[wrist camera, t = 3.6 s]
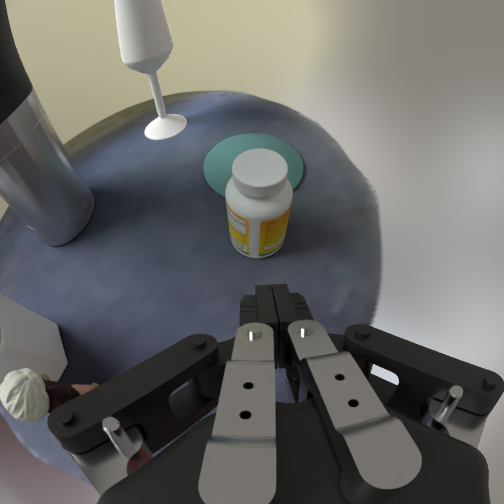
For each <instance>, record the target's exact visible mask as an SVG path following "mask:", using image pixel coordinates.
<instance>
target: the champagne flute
mask: <svg viewBox="0 0 504 504" xmlns="http://www.w3.org/2000/svg"><path fill="white" fill-rule="evenodd" d="M114 4H115V14H116V23H117V31H118V39H119V46H120V53H121V59H122V61H123V63H124V64H125V65H126V66H128V67H129V68H131V69H133V70H136V71H138V72H141V73H145V74H148V77H149V81H150V85H151V89H152V93H153V97H154V100H155V104H156V108H157V112H158V115H159V117H158V118H156V119H155V120H154V121H152V122H151V123H150V124H149V125H148V126H147V127H146V129H145V135H146V136H147V137H148V138H150V139H153V140H161V139H166V138H170V137H172V136H174V135H176V134H178V133H179V132H181V131H182V130H183V129H184V128H185V127H186V125H187V119H186V118H185V117H184V116H182V115H177V114H166V110H165V106H164V102H163V98H162V94H161V91H160V86H159V82H158V77H157V73H156V71H157V70H158V69H159V68H160V67H161V66H162V64H163V63H164V62H165V61H166V60H167V58H168V57H169V54H170V53H171V50H172V48H173V43H172V40H171V36H170V33H169V29H168V26H167V22H166V18H165V15H164V11H163V8H162V4H161V1H160V0H114Z"/></svg>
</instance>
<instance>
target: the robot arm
mask: <svg viewBox="0 0 504 504" xmlns="http://www.w3.org/2000/svg"><path fill="white" fill-rule="evenodd" d="M0 196H1V197H2V198H3V199H4V201H5V202H6V203H7V204H8V205H9V206H10V207H11V208H12V210H13V211H14V212H15V213H16V214H17V215H18V216H19V217H20V218H21V219H22V220H23V221H24V222H25V223H26V224H27V225H28V226H29V227H30V228H31V229H32V230H33V231H34V232H35V233H36V234H37V235H38V236H39V237H40V238H41V239H42V240H43V241H44V242H45V243H46V244H48V245H50V246H60V245H63V244H65V243H67V242H69V241H71V240H72V239H73V238H75V237H76V236H77V235H78V234H79V233H80V232H81V231H82V230H83V229H84V227H85V226H86V225H87V223H88V221H89V220H90V218H91V215H92V213H93V210H94V206H95V199H94V195H93V194H92V192H91V190H90V189H89V187H88V186H87V184H86V182H85V181H84V179H83V178H82V176H81V174H80V173H79V171H78V169H77V168H76V166H75V164H74V163H73V161H72V159H71V158H70V156H69V154H68V153H67V151H66V149H65V147H64V146H63V144H62V142H61V140H60V139H59V137H58V135H57V133H56V131H55V130H54V128H53V126H52V124H51V122H50V120H49V118H48V116H47V114H46V112H45V110H44V109H43V107H42V105H41V103H40V101H39V99H38V96H37V94H36V92H35V90H34V88H33V87H32V84H31V82H30V79H29V77H28V75H27V73H26V71H25V69H24V66H23V64H22V62H21V59H20V57H19V54H18V51H17V49H16V46H15V43H14V39H13V36H12V32H11V28H10V24H9V20H8V15H7V9H6V4H5V0H0ZM255 289H256V295H245V296H244V297H243V298H242V299H241V301H240V327H239V328H238V330H237V332H236V336H235V337H234V338H232V339H230V340H227V341H224V342H219V343H217V340H216V339H215V338H214V337H212V336H210V335H207V334H194V335H190V336H188V337H186V338H184V339H182V340H181V341H179V342H177V343H175V344H174V345H172V346H170V347H169V348H167V349H165V350H163V351H162V352H160V353H158V354H156V355H154V356H153V357H151V358H149V359H147V360H146V361H144V362H142V363H140V364H138V365H137V366H135V367H133V368H131V369H129V370H127V371H126V372H124V373H122V374H120V375H118V376H116V377H115V378H113V379H111V380H109V381H107V382H105V383H103V384H101V385H99V386H98V387H96V388H94V389H92V390H90V391H88V392H86V393H84V394H82V395H80V396H78V397H76V398H74V399H72V400H70V401H68V402H66V403H64V404H62V405H60V406H58V407H57V408H55V409H54V410H53V411H52V412H51V413H50V415H49V417H48V427H49V430H50V431H51V432H52V433H53V435H54V436H55V437H56V439H57V440H58V441H59V442H60V443H61V446H62V447H63V449H64V450H65V451H66V452H67V453H68V454H69V455H70V457H71V458H72V459H73V460H74V461H75V462H76V463H77V464H78V465H79V466H80V468H81V469H82V471H83V472H84V474H85V475H86V477H87V478H88V479H89V481H90V482H91V484H92V485H93V486H94V488H95V489H96V490H97V492H98V493H99V494H100V495H101V497H100V499H99V500H98V503H97V504H491V503H490V498H489V487H488V479H489V478H488V477H489V470H488V465H487V462H486V459H485V458H484V456H483V454H482V453H481V452H480V451H479V450H478V449H477V446H478V443H479V440H480V437H481V435H482V432H483V428H484V425H485V422H486V418H487V417H488V415H489V414H490V412H491V411H492V409H493V408H494V406H495V405H496V403H497V402H498V400H499V398H500V396H501V395H502V393H503V392H504V381H503V379H502V378H501V377H500V376H499V375H498V374H497V373H495V372H493V371H490V370H487V369H484V368H481V367H478V366H475V365H473V364H470V363H467V362H464V361H461V360H458V359H456V358H453V357H450V356H447V355H445V354H442V353H439V352H437V351H434V350H431V349H429V348H426V347H423V346H421V345H418V344H415V343H413V342H410V341H407V340H405V339H402V338H399V337H397V336H394V335H392V334H389V333H387V332H384V331H382V330H379V329H376V328H374V327H371V326H368V325H363V324H357V325H352V326H350V327H348V328H347V329H346V330H345V334H344V335H337V334H330V333H326V331H325V329H324V328H323V326H322V325H321V324H320V323H318V322H316V321H314V319H313V317H312V315H311V312H310V310H309V308H308V305H307V304H306V301H305V298H304V297H303V296H301V295H300V294H299V293H290V292H289V290H288V287H287V284H272V285H255ZM373 364H375V365H377V366H379V367H382V368H384V369H386V370H389V371H391V372H393V373H395V374H396V375H397V376H398V378H399V384H398V385H395V384H393V383H391V382H389V381H386V380H384V379H382V378H380V377H378V376H376V375H373V374H371V369H372V366H373ZM278 365H279V368H285V369H286V385H287V388H288V392H289V395H290V398H291V402H292V403H282V402H275V369H277V366H278ZM187 381H188V383H189V384H188V385H187V386H185V387H184V388H183V389H181V390H180V391H178V392H177V393H175V394H174V395H172V396H171V397H169V396H170V394H171V393H172V392H173V391H174V390H175V389H177V388H178V387H180V386H181V385H183V384H184V383H186V382H187ZM217 405H218V407H217V412H216V413H215V414H212V415H210V416H208V417H206V418H204V419H203V420H201V421H199V420H200V419H201V418H203V417H204V416H205V415H206V414H208V413H209V412H210V411H211V410H213V409H214V408H215V407H216V406H217ZM197 421H199V422H198V423H197V424H195V423H196V422H197ZM194 424H195V425H194ZM192 425H194V426H193V427H192V428H191V429H189V430H188V431H187V432H186V433H184V434H183V435H182V436H181V437H179V438H178V439H177V440H176V441H174V442H173V443H172V444H171V445H169V446H168V447H167V448H165V449H164V450H163V451H161V452H160V453H159V454H157V455H156V456H155V457H153V456H152V454H154V453H155V452H156V451H158V450H159V449H161V448H162V447H164V446H165V445H166V444H168V443H169V442H171V441H172V440H173V439H175V438H176V437H178V436H179V435H180V434H182V433H183V432H184V431H186V430H187V429H188V428H190V427H191V426H192Z"/></svg>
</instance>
